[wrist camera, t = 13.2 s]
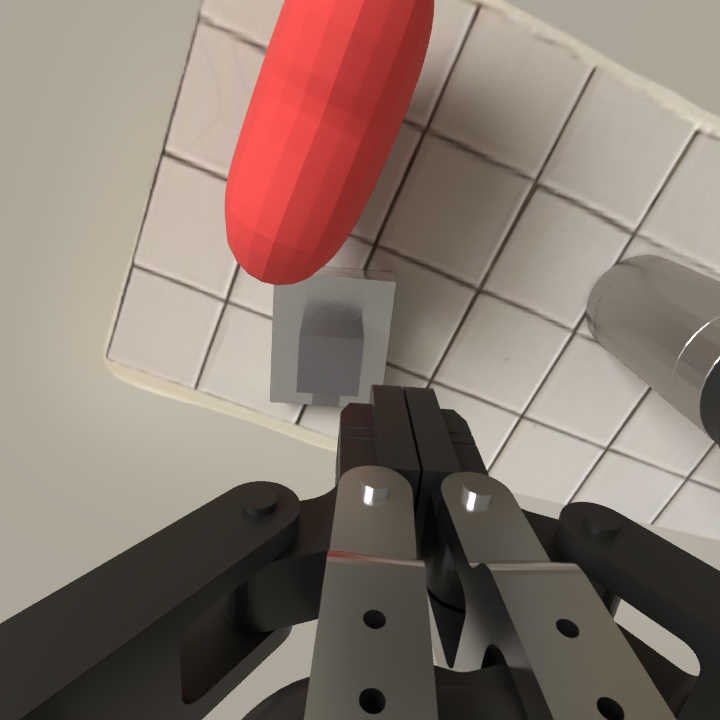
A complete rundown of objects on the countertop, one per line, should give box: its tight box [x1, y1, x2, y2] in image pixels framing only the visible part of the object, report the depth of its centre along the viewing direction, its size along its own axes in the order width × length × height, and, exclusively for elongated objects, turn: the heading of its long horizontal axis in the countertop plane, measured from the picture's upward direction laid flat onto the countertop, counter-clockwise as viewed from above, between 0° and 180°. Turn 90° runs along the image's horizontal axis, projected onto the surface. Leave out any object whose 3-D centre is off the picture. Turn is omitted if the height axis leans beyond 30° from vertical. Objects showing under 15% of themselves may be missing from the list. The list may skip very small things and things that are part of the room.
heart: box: [225, 0, 434, 285], centre depth 34 cm, size 20×9×19 cm, turn 156°
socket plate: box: [270, 266, 396, 407], centre depth 48 cm, size 10×12×4 cm
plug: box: [296, 316, 364, 397], centre depth 46 cm, size 5×5×7 cm
